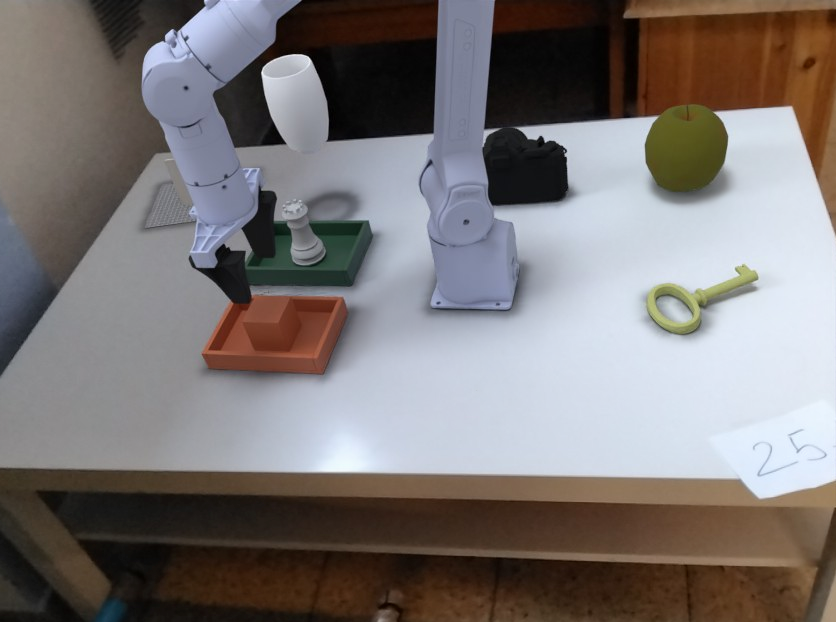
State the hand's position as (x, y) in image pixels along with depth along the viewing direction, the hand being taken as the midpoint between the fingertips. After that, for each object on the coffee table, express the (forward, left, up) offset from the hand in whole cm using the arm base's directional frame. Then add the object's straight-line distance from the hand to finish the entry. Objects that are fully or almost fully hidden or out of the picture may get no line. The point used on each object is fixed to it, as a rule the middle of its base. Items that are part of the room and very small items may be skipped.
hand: (254, 278), depth 90 cm
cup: (+2, -26, -10) cm, 28 cm away
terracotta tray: (0, 0, -9) cm, 9 cm away
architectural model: (+23, -29, -10) cm, 38 cm away
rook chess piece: (+1, -15, -9) cm, 17 cm away
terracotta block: (0, 0, -9) cm, 9 cm away
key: (-47, -8, -10) cm, 49 cm away
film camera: (-23, -31, -10) cm, 40 cm away
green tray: (+1, -15, -9) cm, 18 cm away
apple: (-45, -31, -10) cm, 55 cm away
